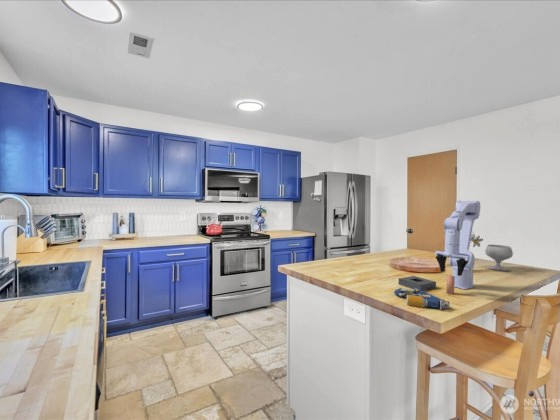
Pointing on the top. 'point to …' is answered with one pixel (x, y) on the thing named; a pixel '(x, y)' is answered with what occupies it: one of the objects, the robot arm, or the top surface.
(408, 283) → the collar block
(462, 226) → the robot arm
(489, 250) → the chalice
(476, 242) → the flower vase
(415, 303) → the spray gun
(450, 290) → the pin
